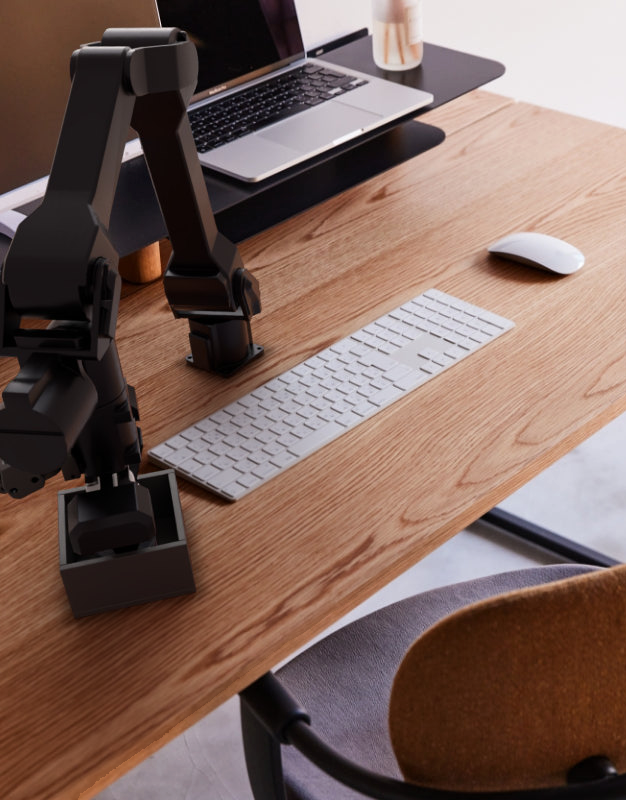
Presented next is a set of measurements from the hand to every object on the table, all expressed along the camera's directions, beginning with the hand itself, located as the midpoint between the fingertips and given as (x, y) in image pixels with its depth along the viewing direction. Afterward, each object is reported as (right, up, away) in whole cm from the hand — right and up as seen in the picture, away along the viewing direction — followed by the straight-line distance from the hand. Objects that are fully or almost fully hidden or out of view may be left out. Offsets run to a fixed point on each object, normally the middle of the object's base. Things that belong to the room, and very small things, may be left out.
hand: (125, 537), depth 92 cm
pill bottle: (0, -2, +2) cm, 3 cm away
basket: (0, -3, +2) cm, 3 cm away
